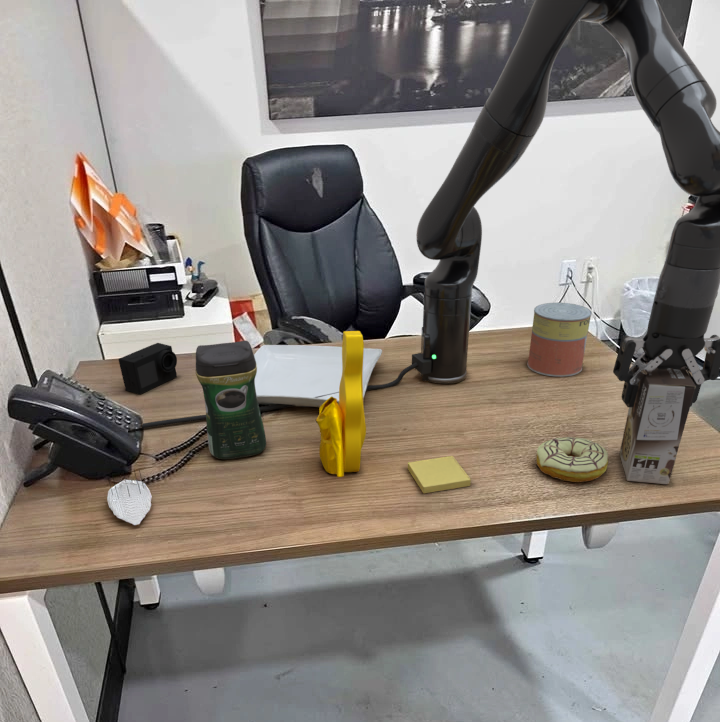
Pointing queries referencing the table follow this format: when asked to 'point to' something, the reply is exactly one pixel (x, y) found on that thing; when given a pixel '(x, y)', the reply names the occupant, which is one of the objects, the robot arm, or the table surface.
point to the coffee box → (656, 425)
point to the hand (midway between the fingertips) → (656, 405)
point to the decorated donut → (572, 459)
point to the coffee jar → (230, 399)
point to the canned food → (558, 339)
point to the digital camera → (148, 368)
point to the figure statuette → (344, 413)
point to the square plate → (303, 373)
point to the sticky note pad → (438, 474)
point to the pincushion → (130, 500)
